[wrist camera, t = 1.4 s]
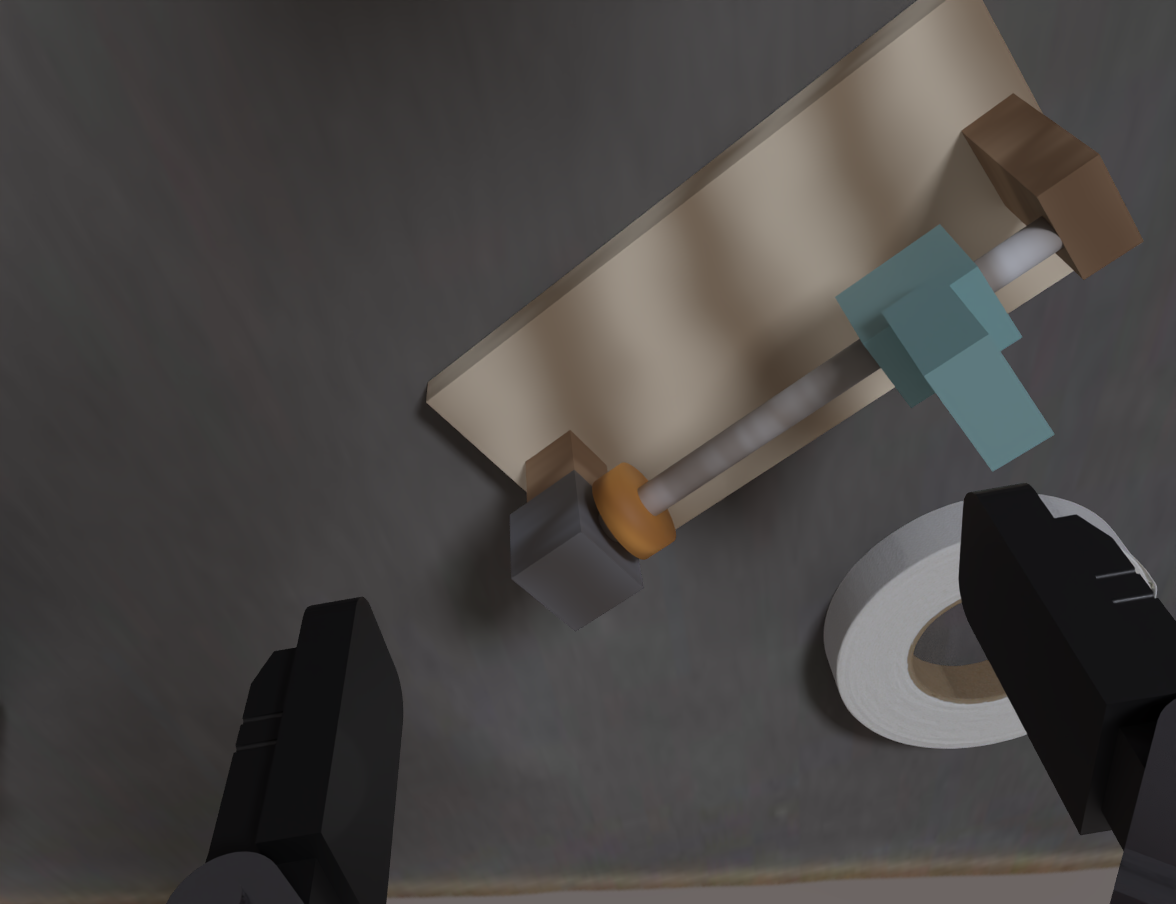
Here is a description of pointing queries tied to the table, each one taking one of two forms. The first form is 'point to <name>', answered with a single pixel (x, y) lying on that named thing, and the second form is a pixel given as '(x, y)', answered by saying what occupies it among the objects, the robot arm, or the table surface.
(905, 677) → the roll of tape
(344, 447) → the table surface
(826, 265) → the cable board
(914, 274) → the teal stepped block
